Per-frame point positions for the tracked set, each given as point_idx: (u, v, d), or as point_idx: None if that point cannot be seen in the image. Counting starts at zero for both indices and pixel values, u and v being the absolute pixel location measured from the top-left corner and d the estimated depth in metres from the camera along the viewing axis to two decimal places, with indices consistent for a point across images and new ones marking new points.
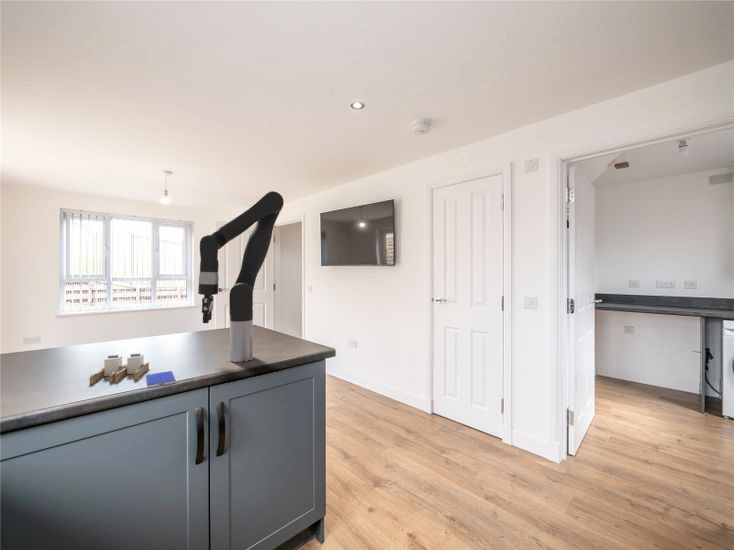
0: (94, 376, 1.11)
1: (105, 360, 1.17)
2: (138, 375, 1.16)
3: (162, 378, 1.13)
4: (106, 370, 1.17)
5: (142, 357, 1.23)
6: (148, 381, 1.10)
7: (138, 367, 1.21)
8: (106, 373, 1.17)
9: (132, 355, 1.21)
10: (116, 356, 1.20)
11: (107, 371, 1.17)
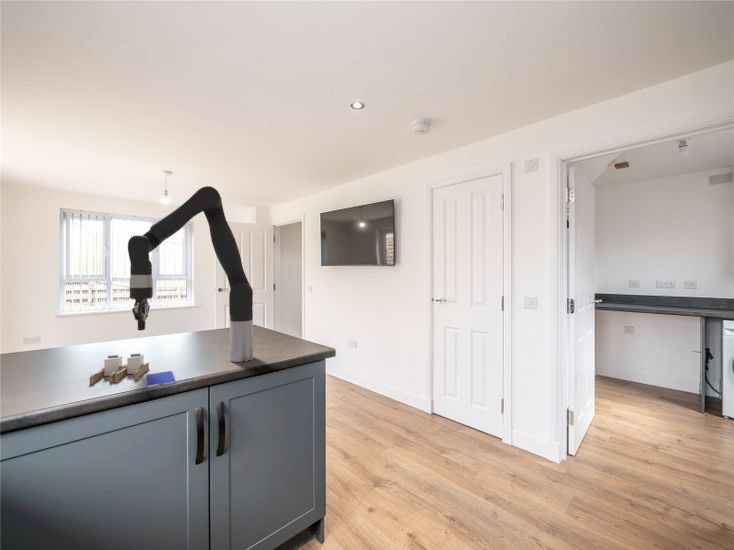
0: (94, 376, 1.11)
1: (105, 360, 1.17)
2: (138, 375, 1.16)
3: (162, 378, 1.13)
4: (106, 370, 1.17)
5: (142, 357, 1.23)
6: (148, 381, 1.10)
7: (138, 367, 1.21)
8: (106, 373, 1.17)
9: (132, 355, 1.21)
10: (116, 356, 1.20)
11: (107, 371, 1.17)
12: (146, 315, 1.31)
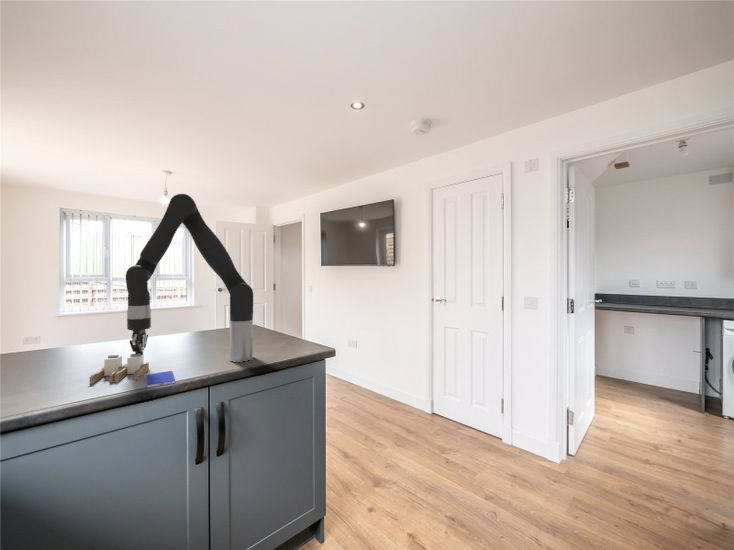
0: (94, 376, 1.11)
1: (105, 360, 1.17)
2: (138, 375, 1.16)
3: (162, 378, 1.13)
4: (106, 370, 1.17)
5: (142, 357, 1.23)
6: (148, 381, 1.10)
7: (138, 367, 1.20)
8: (106, 373, 1.17)
9: (132, 355, 1.21)
10: (116, 356, 1.20)
11: (107, 371, 1.17)
12: (144, 345, 1.28)
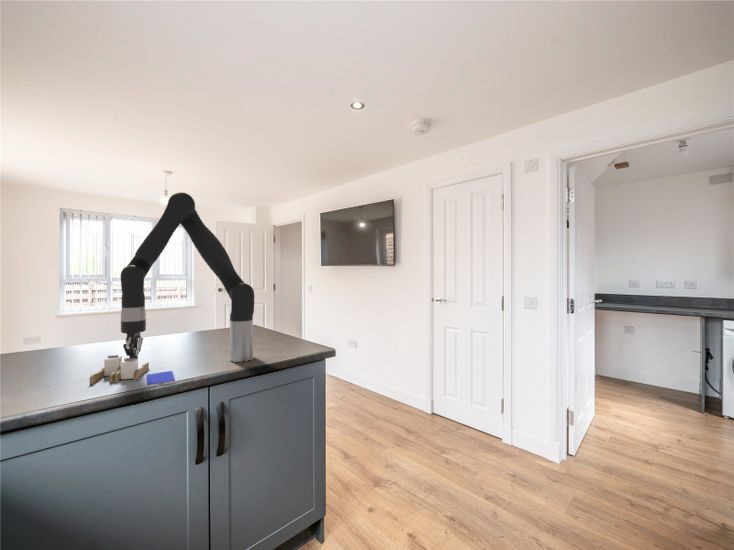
0: (94, 376, 1.11)
1: (105, 360, 1.17)
2: (138, 375, 1.16)
3: (162, 378, 1.13)
4: (106, 370, 1.17)
5: (136, 361, 1.17)
6: (148, 381, 1.10)
7: (132, 372, 1.15)
8: (106, 373, 1.17)
9: (126, 359, 1.15)
10: (116, 356, 1.20)
11: (107, 371, 1.17)
12: (139, 349, 1.23)
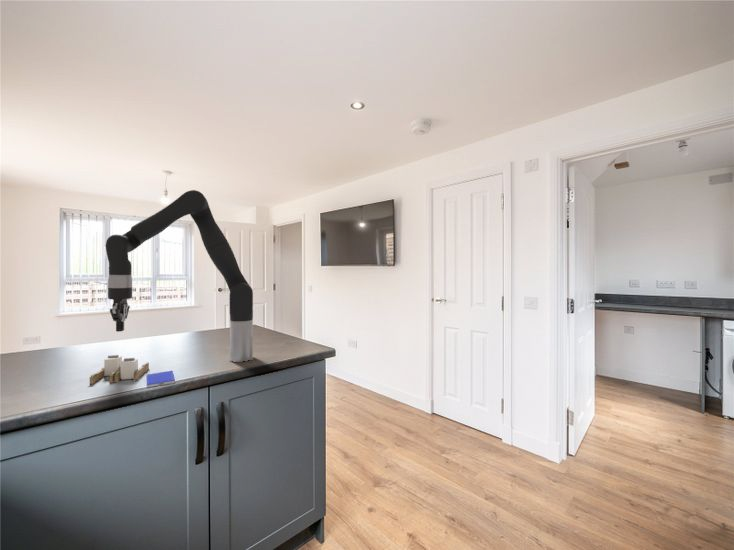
0: (94, 376, 1.11)
1: (105, 360, 1.17)
2: (138, 375, 1.16)
3: (162, 378, 1.13)
4: (106, 370, 1.17)
5: (136, 362, 1.17)
6: (148, 381, 1.10)
7: (132, 372, 1.15)
8: (106, 373, 1.17)
9: (126, 360, 1.15)
10: (116, 356, 1.20)
11: (107, 371, 1.17)
12: (125, 316, 1.28)
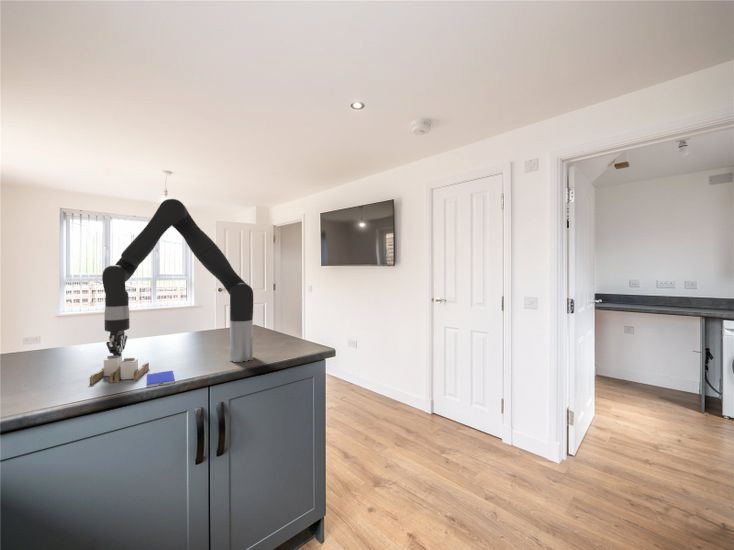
0: (94, 376, 1.11)
1: (104, 360, 1.17)
2: (138, 375, 1.16)
3: (162, 377, 1.14)
4: (106, 370, 1.17)
5: (136, 362, 1.17)
6: (148, 381, 1.11)
7: (132, 372, 1.15)
8: (105, 373, 1.17)
9: (126, 360, 1.15)
10: (116, 356, 1.19)
11: (106, 371, 1.17)
12: (123, 347, 1.26)
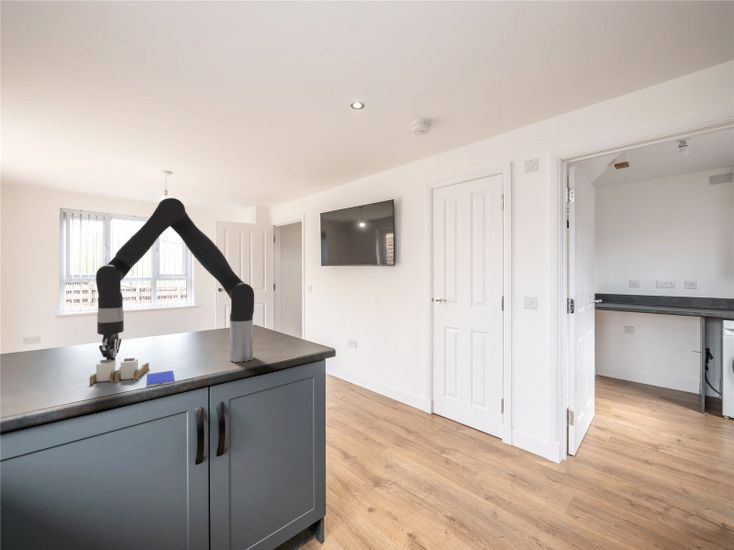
0: (94, 376, 1.11)
1: (97, 365, 1.11)
2: (138, 375, 1.16)
3: (162, 377, 1.14)
4: (99, 375, 1.11)
5: (136, 362, 1.17)
6: (148, 381, 1.11)
7: (132, 372, 1.15)
8: (98, 379, 1.11)
9: (126, 360, 1.15)
10: (109, 361, 1.14)
11: (99, 376, 1.11)
12: (116, 350, 1.20)
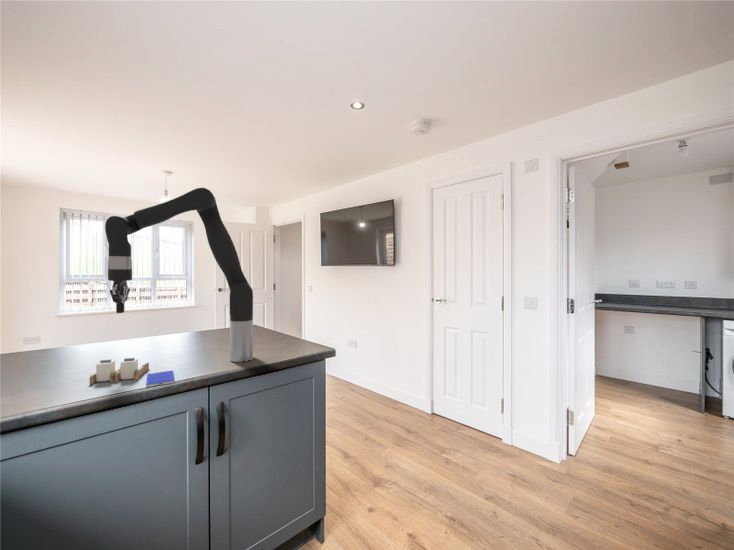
0: (94, 376, 1.11)
1: (97, 365, 1.11)
2: (138, 375, 1.16)
3: (161, 377, 1.14)
4: (98, 375, 1.11)
5: (136, 362, 1.17)
6: (148, 380, 1.11)
7: (132, 372, 1.15)
8: (98, 379, 1.11)
9: (126, 360, 1.15)
10: (109, 361, 1.14)
11: (99, 376, 1.11)
12: (125, 298, 1.28)
